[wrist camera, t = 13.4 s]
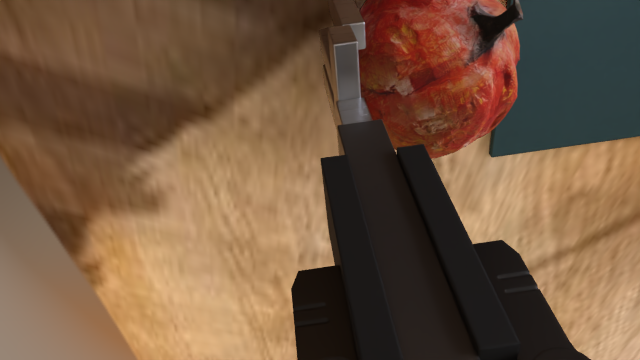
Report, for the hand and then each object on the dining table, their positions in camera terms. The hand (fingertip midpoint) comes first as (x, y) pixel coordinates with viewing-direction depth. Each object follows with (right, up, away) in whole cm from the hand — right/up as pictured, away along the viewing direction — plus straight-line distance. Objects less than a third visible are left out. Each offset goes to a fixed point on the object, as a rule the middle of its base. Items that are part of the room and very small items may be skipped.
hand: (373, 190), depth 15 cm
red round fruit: (+3, +7, +10) cm, 12 cm away
